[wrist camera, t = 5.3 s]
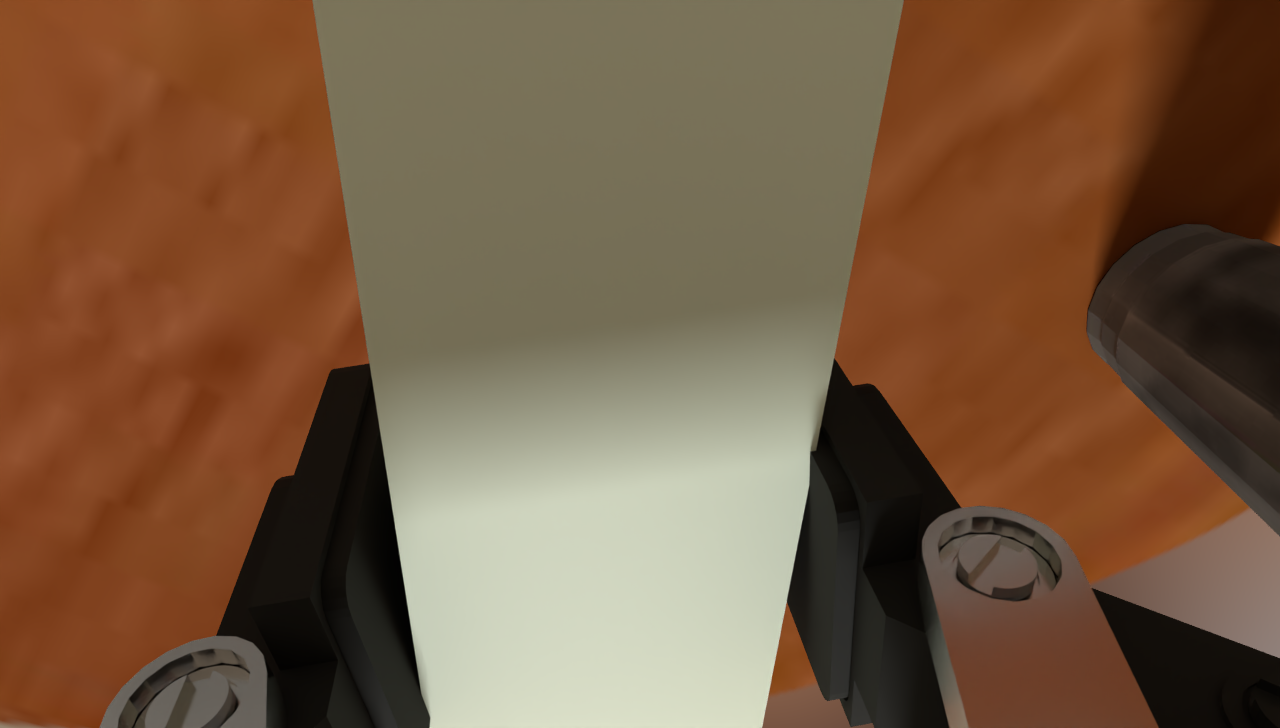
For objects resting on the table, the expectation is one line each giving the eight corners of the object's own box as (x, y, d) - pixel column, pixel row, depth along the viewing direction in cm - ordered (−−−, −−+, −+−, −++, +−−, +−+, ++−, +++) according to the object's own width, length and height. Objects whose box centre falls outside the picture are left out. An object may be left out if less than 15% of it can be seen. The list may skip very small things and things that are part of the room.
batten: (300, -873, 6) (20, -1858, 2) (833, -786, 6) (1195, -1497, 3) (483, 823, 17) (478, 1054, 14) (667, 802, 18) (704, 1019, 15)
